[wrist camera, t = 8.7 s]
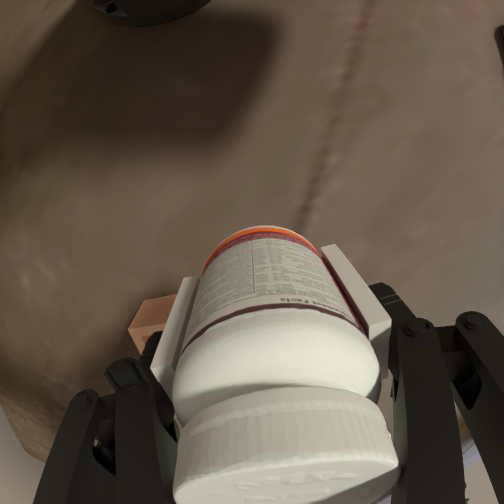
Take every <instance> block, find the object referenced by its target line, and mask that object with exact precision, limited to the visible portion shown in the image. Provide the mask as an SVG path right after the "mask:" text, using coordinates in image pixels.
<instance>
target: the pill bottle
mask: <svg viewBox="0 0 504 504" xmlns="http://www.w3.org/2000/svg"><path fill="white" fill-rule="evenodd" d="M380 391H381V372H380V367H379V363H378V360H377V357H376V355H375V353H374V350H373V348H372V346H371V343H370V341H369V339H368V337H367V335H366V334H365V332H364V329H363V328H362V326H361V325H360V323H359V321H358V320H357V318H356V316H355V314H354V313H353V311H352V309H351V308H350V306H349V305H348V303H347V301H346V299H345V298H344V296H343V294H342V293H341V291H340V289H339V287H338V285H337V283H336V282H335V280H334V278H333V276H332V275H331V273H330V271H329V270H328V268H327V267H326V265H325V263H324V262H323V260H322V258H321V257H320V255H319V254H318V252H317V251H316V249H315V248H314V247H313V246H312V245H311V244H310V243H309V242H308V241H307V240H306V239H305V238H303V237H302V236H300V235H299V234H297V233H295V232H293V231H291V230H288V229H286V228H281V227H277V226H265V225H263V226H254V227H250V228H246V229H242V230H240V231H238V232H236V233H234V234H232V235H230V236H229V237H227V238H226V239H225V240H223V241H222V242H221V243H220V244H219V245H218V246H217V247H216V248H215V249H214V251H213V252H212V253H211V255H210V257H209V258H208V260H207V262H206V264H205V267H204V270H203V273H202V277H201V280H200V284H199V287H198V291H197V294H196V298H195V302H194V305H193V309H192V312H191V316H190V320H189V322H188V325H187V330H186V334H185V338H184V341H183V345H182V349H181V352H180V356H179V360H178V363H177V367H176V371H175V377H174V381H173V388H172V399H173V405H174V409H175V413H176V415H177V418H178V420H179V422H180V423H181V425H182V427H183V429H182V432H181V434H180V438H179V443H178V450H177V462H176V469H175V475H174V483H173V498H174V501H175V503H176V504H370V503H372V502H374V501H376V500H377V499H379V498H380V497H382V496H383V495H384V494H386V493H387V492H388V491H389V490H390V489H391V488H392V487H393V486H394V485H395V484H396V482H397V481H398V479H399V477H400V474H401V464H400V461H399V457H398V455H397V452H396V450H395V447H394V445H393V442H392V440H391V437H390V435H389V432H388V428H387V425H386V422H385V420H384V417H383V415H382V413H381V411H380V409H379V408H378V407H377V406H376V405H377V403H378V400H379V396H380Z"/></svg>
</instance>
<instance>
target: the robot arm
mask: <svg viewBox="0 0 504 504" xmlns="http://www.w3.org/2000/svg"><path fill="white" fill-rule="evenodd" d="M88 1H89V3H90V4H91V6H92V7H93V8H94V9H95V10H96V11H97V12H98V13H100V14H101V15H102V16H103V17H105V18H106V19H108V20H109V21H111V22H114V23H117V24H120V25H125V26H149V25H155V24H160V23H164V22H168V21H171V20H174V19H177V18H179V17H182V16H184V15H186V14H188V13H190V12H192V11H194V10H196V9H198V8H199V7H201V6H203V5H204V4H205V3H207V2H208V1H210V0H88ZM321 253H322V260H323V262H324V263H325V265H326V267H327V268H328V270H329V271H330V273H331V275H332V276H333V278H334V280H335V282H336V283H337V285H338V287H339V289H340V291H341V293H342V294H343V296H344V298H345V299H346V301H347V303H348V305H349V306H350V308H351V309H352V311H353V313H354V314H355V316H356V318H357V320H358V321H359V323H360V325H361V326H362V328H363V329H364V332H365V334H366V335H367V337H368V339H369V341H370V343H371V346H372V348H373V350H374V353H375V355H376V357H377V360H378V363H379V367H380V372H381V380H382V379H385V378H388V367H389V369H390V371H391V373H392V375H393V381H392V389H391V396H390V397H393V417H394V447H395V450H396V452H397V455H398V457H399V461H400V464H401V474H400V477H399V479H398V481H397V482H396V484H395V485H394V486H393V487H392V497H391V504H466V500H465V480H464V467H463V457H462V449H461V441H460V434H459V427H458V421H457V416H456V410H455V405H454V401H455V403H456V405H457V407H458V409H459V411H460V413H461V415H462V417H463V419H464V421H465V423H466V425H467V427H468V429H469V431H470V433H471V436H472V438H473V440H474V442H475V444H476V447H477V449H478V451H479V453H480V456H481V458H482V461H483V463H484V465H485V468H486V470H487V473H488V475H489V478H490V481H491V483H492V486H493V489H494V491H495V494H496V497H497V500H498V503H499V504H504V336H503V335H502V334H501V333H500V331H499V330H498V329H497V328H496V327H495V326H494V325H493V323H492V322H491V321H490V320H489V319H488V318H487V317H486V316H485V315H483V314H481V313H479V312H474V311H469V312H464V313H462V314H460V315H459V316H458V317H457V319H456V323H455V325H453V326H445V327H434V326H433V324H432V323H431V322H429V321H428V320H426V319H422V318H416V317H415V315H414V314H413V313H412V312H411V311H410V309H409V308H408V307H407V306H406V304H405V303H404V302H403V301H402V300H401V298H400V297H399V296H398V295H396V293H395V291H394V290H393V289H392V288H391V287H390V286H388V285H386V284H384V283H382V282H380V283H377V284H373V285H369V286H367V285H366V283H365V282H364V281H363V279H362V278H361V277H360V275H359V274H358V273H357V271H356V270H355V269H354V267H353V266H352V265H351V263H350V262H349V261H348V260H347V258H346V257H345V256H344V254H343V253H342V252H341V251H340V249H339V248H338V247H337V245H336V244H333V245H329V246H324V247H321ZM199 284H200V279H199V276H198V275H195V276H190V277H186V278H184V279H183V281H182V284H181V286H180V289H179V292H178V294H177V297H176V299H175V302H174V304H173V307H172V310H171V312H170V315H169V317H168V320H167V323H166V325H165V328H164V330H162V331H156V332H154V333H153V334H152V335H151V336H150V337H149V338H148V340H147V342H146V344H145V347H144V349H143V352H142V355H141V356H140V359H139V361H137V360H136V359H134V358H130V357H127V358H121V359H119V360H117V361H115V362H114V363H112V364H111V365H110V366H109V367H108V368H107V370H106V372H105V376H106V378H107V379H108V381H109V382H110V384H111V385H112V387H113V388H114V390H115V391H116V393H114V394H110V395H107V396H103V397H100V396H99V395H98V394H97V392H95V391H94V390H89V389H88V390H83V391H81V392H79V393H78V394H77V395H75V396H74V397H73V399H72V400H71V402H70V404H69V406H68V409H67V411H66V413H65V416H64V418H63V420H62V423H61V425H60V428H59V430H58V433H57V435H56V438H55V440H54V443H53V446H52V448H51V451H50V454H49V456H48V459H47V462H46V465H45V467H44V470H43V473H42V477H41V479H40V482H39V485H38V489H37V492H36V495H35V498H34V502H33V504H176V503H175V501H174V498H173V483H174V475H175V469H176V462H177V450H178V443H179V438H180V432H179V428H178V425H177V423H176V421H175V419H174V413H175V409H174V405H173V399H172V388H173V381H174V377H175V371H176V367H177V363H178V360H179V356H180V352H181V349H182V345H183V341H184V338H185V334H186V330H187V325H188V322H189V320H190V316H191V312H192V309H193V305H194V302H195V298H196V294H197V291H198V287H199ZM453 399H454V400H453ZM95 439H96V440H97V441H98V443H97V446H96V447H95V446H94V445H93V444H94V441H95Z"/></svg>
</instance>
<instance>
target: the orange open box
mask: <svg viewBox="0 0 504 504" xmlns="http://www.w3.org/2000/svg"><path fill="white" fill-rule="evenodd" d="M176 297H177V294H173V295H168V296H163V297H158V298H153V299H148V300H144V301H143V303H142V305H141V306H140V308H139V310H138V312H137V314H136V315H135V317H134V319H133V321H132V323H131V324H130V326H129V328H128V331H129V333H130V335H131V337H132V339H133V341H134V343H135V345H136V347H137V348H138V350H139V352H140V354H141V355H142V352H143V349H144V347H145V344H146V342H147V340H148V338H149V337H150V336H151V335H152V334H153V333H154V332H156V331H162V330H164V328H165V325H166V323H167V320H168V317H169V315H170V312H171V310H172V307H173V304H174V302H175V299H176Z"/></svg>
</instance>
